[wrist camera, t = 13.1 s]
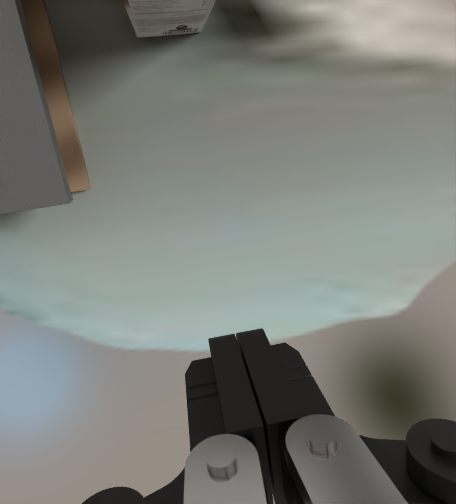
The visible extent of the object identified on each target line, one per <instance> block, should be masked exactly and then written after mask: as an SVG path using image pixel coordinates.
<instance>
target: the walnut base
mask: <svg viewBox="0 0 456 504" xmlns="http://www.w3.org/2000/svg"><path fill="white" fill-rule="evenodd" d="M20 1H21V5H22V9H23V12H24V16H25V20H26V24H27V28H28V31H29V35H30V39H31V43H32V47H33V50H34V54H35V58H36V62H37V66H38V69H39V73H40V77H41V81H42V85H43V88H44V92H45V96H46V100H47V104H48V107H49V111H50V115H51V119H52V123H53V126H54V130H55V134H56V138H57V141H58V145H59V149H60V153H61V157H62V160H63V164H64V168H65V172H66V176H67V179H68V183H69V187H70V191H71V192H76V191H82V190H88V189H90V188H91V186H90V182H89V178H88V174H87V170H86V166H85V162H84V158H83V154H82V149H81V145H80V141H79V137H78V133H77V129H76V125H75V121H74V117H73V113H72V109H71V105H70V101H69V97H68V93H67V89H66V85H65V81H64V77H63V73H62V69H61V64H60V60H59V56H58V52H57V48H56V44H55V40H54V36H53V32H52V28H51V24H50V20H49V16H48V12H47V8H46V4H45V0H20Z"/></svg>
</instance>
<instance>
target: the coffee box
mask: <svg viewBox="0 0 456 504" xmlns="http://www.w3.org/2000/svg"><path fill="white" fill-rule="evenodd" d="M214 2H215V0H123V3H124V5H125V8H126V11H127V13H128V16H129V18H130V21H131V23H132V26H133V29H134V31H135V34H136V36H137V37H152V36H164V35H177V34H188V33H199V32H201V31H202V29H203V27H204V25H205V22H206V20H207V18H208V16H209V13H210V11H211V9H212V7H213V5H214Z"/></svg>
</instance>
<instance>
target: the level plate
mask: <svg viewBox="0 0 456 504" xmlns="http://www.w3.org/2000/svg"><path fill="white" fill-rule="evenodd" d="M72 200H73V198H72V195H71V191H70V187H69V183H68V179H67V176H66V172H65V168H64V164H63V160H62V157H61V153H60V149H59V145H58V141H57V138H56V134H55V130H54V126H53V123H52V119H51V115H50V111H49V107H48V104H47V100H46V96H45V92H44V88H43V85H42V81H41V77H40V73H39V69H38V66H37V62H36V58H35V54H34V50H33V47H32V43H31V39H30V35H29V31H28V28H27V24H26V20H25V16H24V12H23V9H22V5H21V1H20V0H0V214H6V213H12V212H18V211H24V210H31V209H37V208H43V207H49V206H56V205H62V204H68V203H70V202H71V201H72Z"/></svg>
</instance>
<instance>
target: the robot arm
mask: <svg viewBox="0 0 456 504" xmlns="http://www.w3.org/2000/svg"><path fill="white" fill-rule="evenodd" d="M236 339H237V340H236ZM208 340H209V346H210V352H211V357H210V358H205V359H200V360H194V361H192V362H191V364H190V366H189V368H188V370H187V371H186V373H185V381H186V394H187V408H188V422H189V435H190V454H189V456H188V458H187V460H186V464H185V468H184V469H183V471H182V472H181V473H180V474H179V475H178V476H177V477H176V478H175V479H174V480H173V481H172V482H171V483H169V484H168V485H166V486H165V487H163V488H161V489H159V490H157V491H155V492H154V493H152V494H150V495H148V496H146V497H144V498H143V496H142V495H141V494H140V493H139V492H137V491H136V490H134V489H131V488H128V487H113V488H109V489H105V490H102V491H100V492H98V493H96V494H95V495H93V496H91V497H90V498H88V499H87V500H86V501H84V502H83V503H82V504H273V498H274V501H275V504H456V422H454V421H450V420H445V419H427V420H423V421H420V422H418V423H416V424H414V425H413V426H412V427H411V428H410V429H409V431H408V433H407V436H406V440H386V439H373V438H368V437H364V436H361V435H358V434H357V432H356V431H355V430H354V428H353V427H352V426H351V425H349V424H348V423H347V422H345V421H344V420H342V419H340V418H338V417H335V415H334V413H333V412H332V410H331V408H330V406H329V405H328V403H327V401H326V399H325V398H324V396H323V394H322V392H321V390H320V389H319V387H318V385H317V383H316V382H315V380H314V378H313V377H312V376H311V373H310V371H309V369H308V367H307V366H306V364H305V362H304V360H303V359H302V357H301V355H300V353H299V352H298V351H297V350H295V349H294V348H292V347H291V346H289V345H288V344H286V343H281V344H276V345H270V343H269V341H268V339H267V337H266V334H265V332H264V330H263V329H262V328H261V329H256V330H251V331H245V332H240V333H236V337H235V334H230V335H225V336H220V337H214V338H209V339H208ZM272 494H273V496H272Z"/></svg>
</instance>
